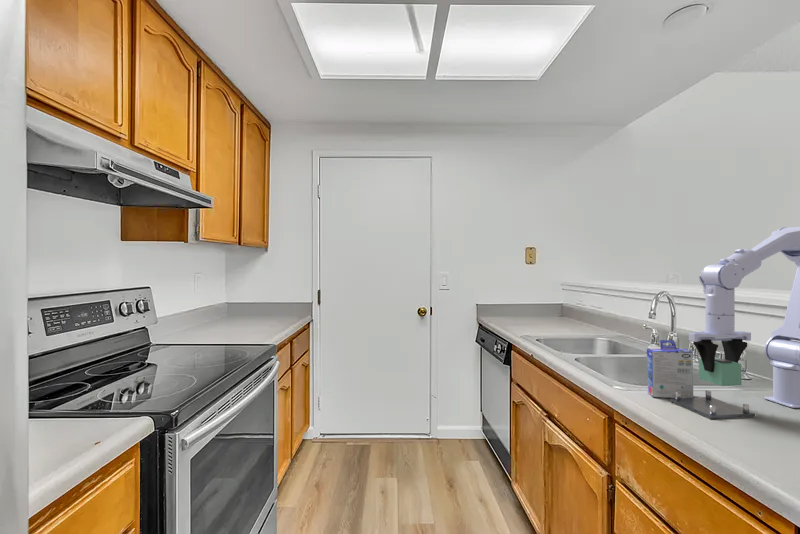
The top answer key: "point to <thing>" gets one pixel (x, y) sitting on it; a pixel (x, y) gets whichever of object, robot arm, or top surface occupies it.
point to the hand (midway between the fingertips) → (719, 370)
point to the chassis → (712, 407)
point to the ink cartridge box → (670, 371)
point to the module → (722, 373)
